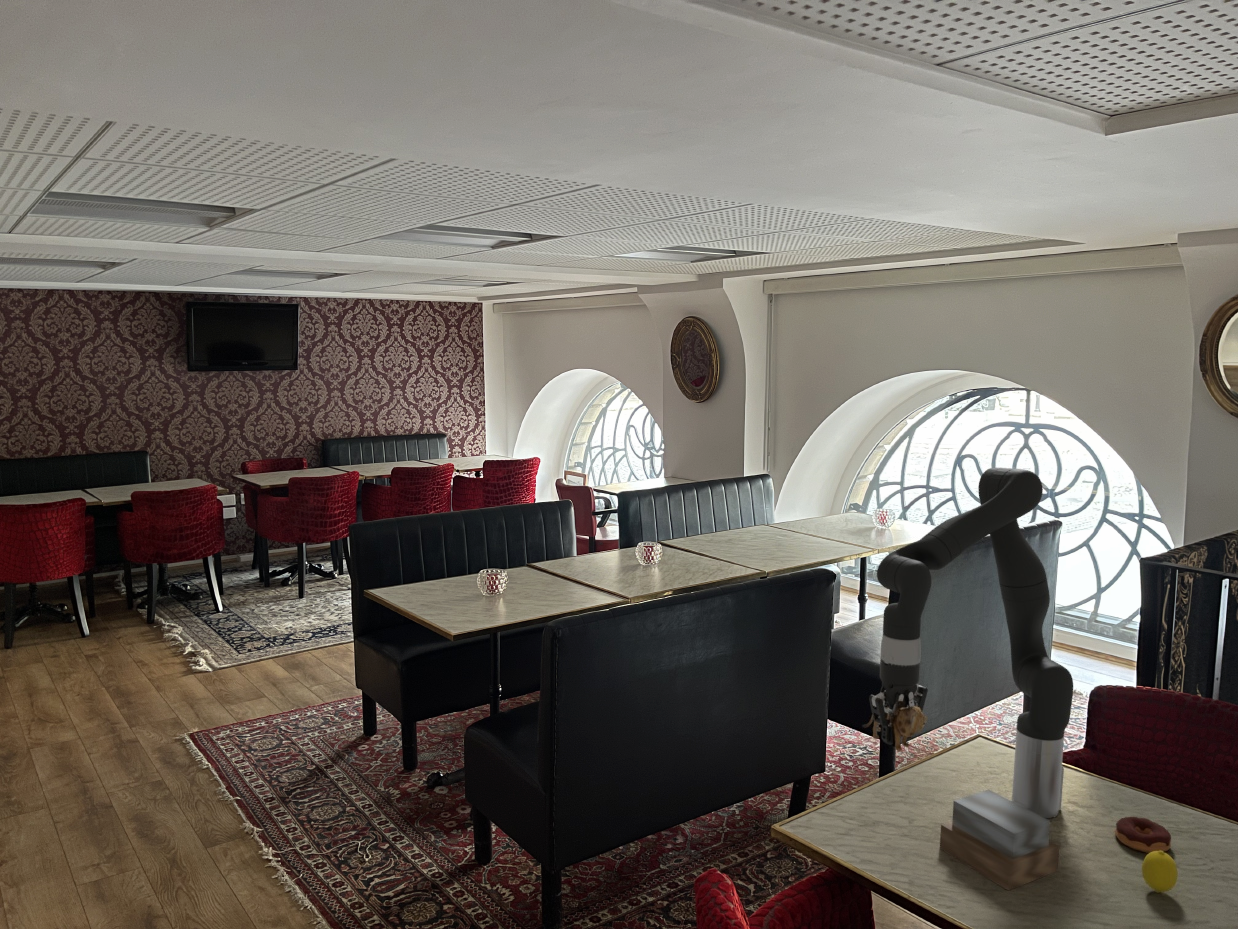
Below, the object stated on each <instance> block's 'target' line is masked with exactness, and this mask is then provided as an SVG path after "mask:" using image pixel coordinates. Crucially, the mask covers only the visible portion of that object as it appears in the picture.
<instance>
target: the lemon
mask: <svg viewBox="0 0 1238 929" xmlns="http://www.w3.org/2000/svg"><path fill="white" fill-rule="evenodd" d="M1141 875H1142V878H1143V880H1144V881H1145V883H1146V884H1147V886H1148V887H1150V888H1151V889H1152V890H1154V891H1155V893H1157V894H1158V893H1159V894H1160V893H1162V892H1168V891H1170V890H1172V889H1173V888H1174V887H1175V886H1176V884H1177V881H1178V867H1177V864H1176V863H1175V860H1174V859H1173V858H1172V857H1171V855H1169V854H1168V853H1166V852H1165V851H1164V852H1163V851H1161V850H1160V851H1153V852H1150V853H1147V854H1146V856H1145V857H1144V859H1143V862H1142V866H1141Z"/></svg>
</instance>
